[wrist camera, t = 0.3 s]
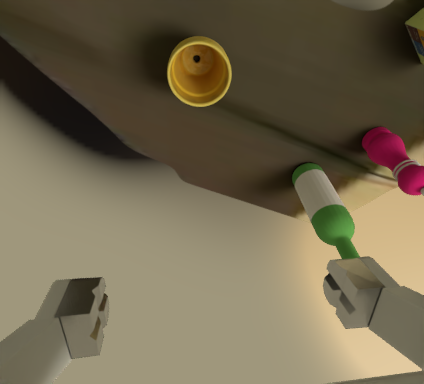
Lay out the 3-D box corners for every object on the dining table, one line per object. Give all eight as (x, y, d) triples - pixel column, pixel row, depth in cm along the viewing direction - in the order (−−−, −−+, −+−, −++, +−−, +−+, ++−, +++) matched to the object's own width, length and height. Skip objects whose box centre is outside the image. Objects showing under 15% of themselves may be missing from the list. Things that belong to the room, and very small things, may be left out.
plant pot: (165, 79, 56) (162, 100, 48) (173, 19, 49) (172, 33, 42) (217, 90, 58) (222, 112, 51) (231, 34, 51) (240, 50, 44)
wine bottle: (287, 167, 72) (336, 271, 50) (318, 156, 71) (383, 258, 48) (293, 188, 77) (340, 292, 55) (322, 179, 76) (383, 281, 53)
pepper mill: (371, 156, 72) (421, 213, 57) (353, 142, 69) (401, 199, 54) (396, 134, 68) (458, 189, 53) (379, 119, 65) (438, 173, 50)
